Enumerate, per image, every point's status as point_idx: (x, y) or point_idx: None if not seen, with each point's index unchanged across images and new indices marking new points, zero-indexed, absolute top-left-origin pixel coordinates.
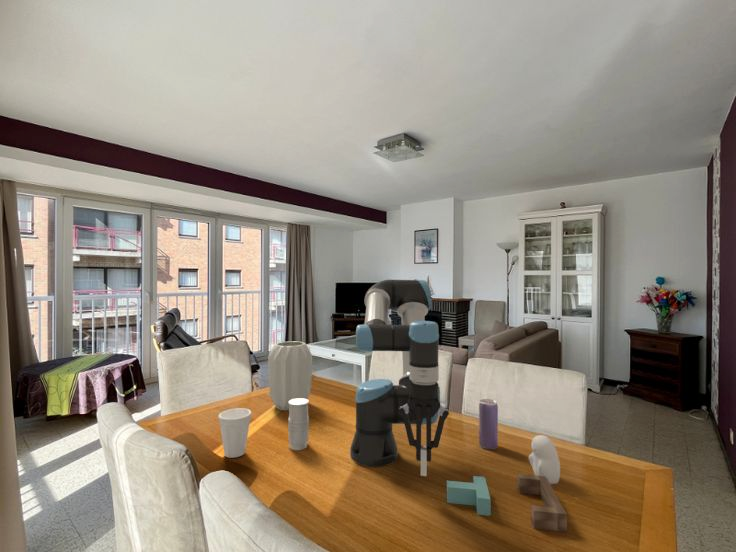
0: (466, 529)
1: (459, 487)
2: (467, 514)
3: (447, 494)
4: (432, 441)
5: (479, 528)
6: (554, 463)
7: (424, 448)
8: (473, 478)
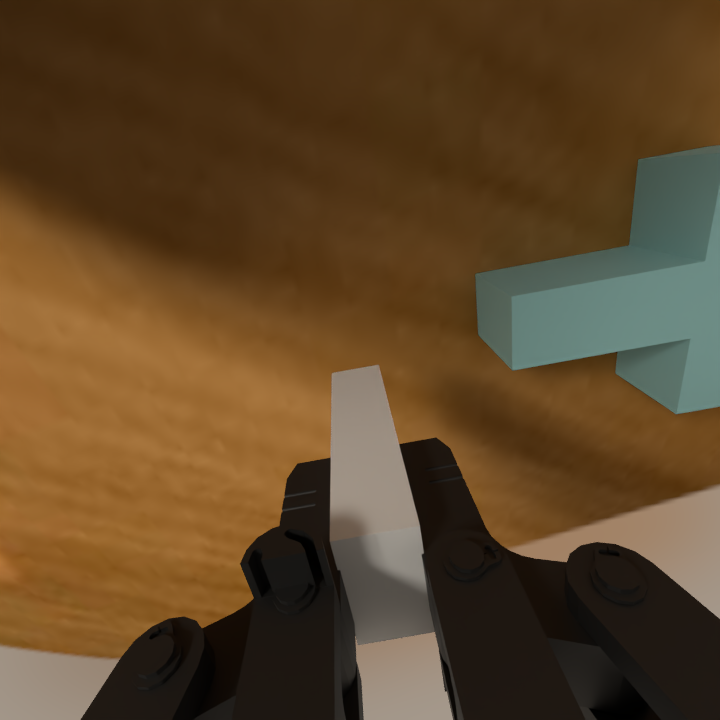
0: (551, 474)
1: (589, 348)
2: (568, 388)
3: (495, 350)
4: (562, 657)
5: (603, 453)
6: None
7: (400, 602)
8: (715, 187)
